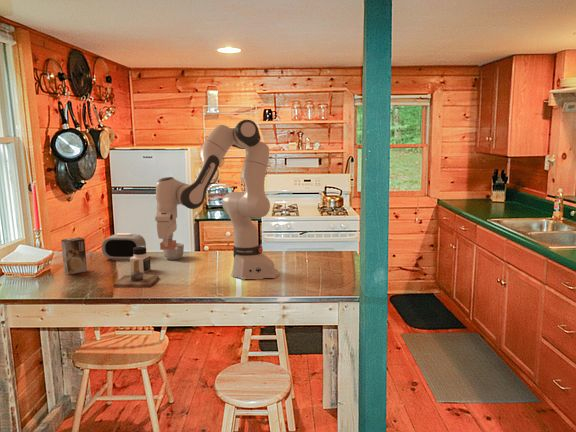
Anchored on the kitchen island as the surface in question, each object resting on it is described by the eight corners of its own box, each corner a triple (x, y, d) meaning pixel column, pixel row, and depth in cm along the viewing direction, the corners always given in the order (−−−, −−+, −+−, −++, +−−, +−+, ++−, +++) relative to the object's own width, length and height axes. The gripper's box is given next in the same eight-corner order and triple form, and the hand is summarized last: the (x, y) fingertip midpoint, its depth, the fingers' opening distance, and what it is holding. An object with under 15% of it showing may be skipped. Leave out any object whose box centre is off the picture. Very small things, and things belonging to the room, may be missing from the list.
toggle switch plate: (158, 277, 232) (158, 256, 231) (150, 287, 218) (149, 264, 217) (124, 277, 232) (123, 256, 231) (113, 286, 219) (112, 264, 217)
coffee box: (83, 268, 248) (80, 236, 245) (87, 271, 243) (85, 239, 240) (63, 272, 242) (61, 239, 239) (67, 274, 237) (65, 241, 235)
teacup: (162, 257, 272) (162, 242, 271) (183, 255, 275) (182, 241, 274) (164, 263, 259) (164, 248, 257) (186, 261, 262) (185, 246, 261)
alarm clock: (101, 260, 264) (100, 235, 262) (108, 256, 273) (107, 232, 271) (140, 261, 263) (139, 236, 261) (146, 256, 273) (145, 232, 271)
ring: (176, 246, 229) (176, 240, 228) (173, 249, 223) (173, 243, 223) (163, 246, 229) (163, 240, 228) (160, 249, 223) (160, 243, 223)
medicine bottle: (144, 273, 240) (142, 248, 238) (130, 272, 241) (129, 248, 240) (150, 269, 247) (149, 245, 245) (137, 268, 248) (136, 244, 246)
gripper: (165, 210, 234) (167, 239, 236) (153, 218, 213) (155, 249, 216) (179, 210, 234) (180, 239, 236) (168, 217, 213) (170, 249, 216)
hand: (168, 244), depth 226 cm, fingers closed on ring, 6 cm apart
